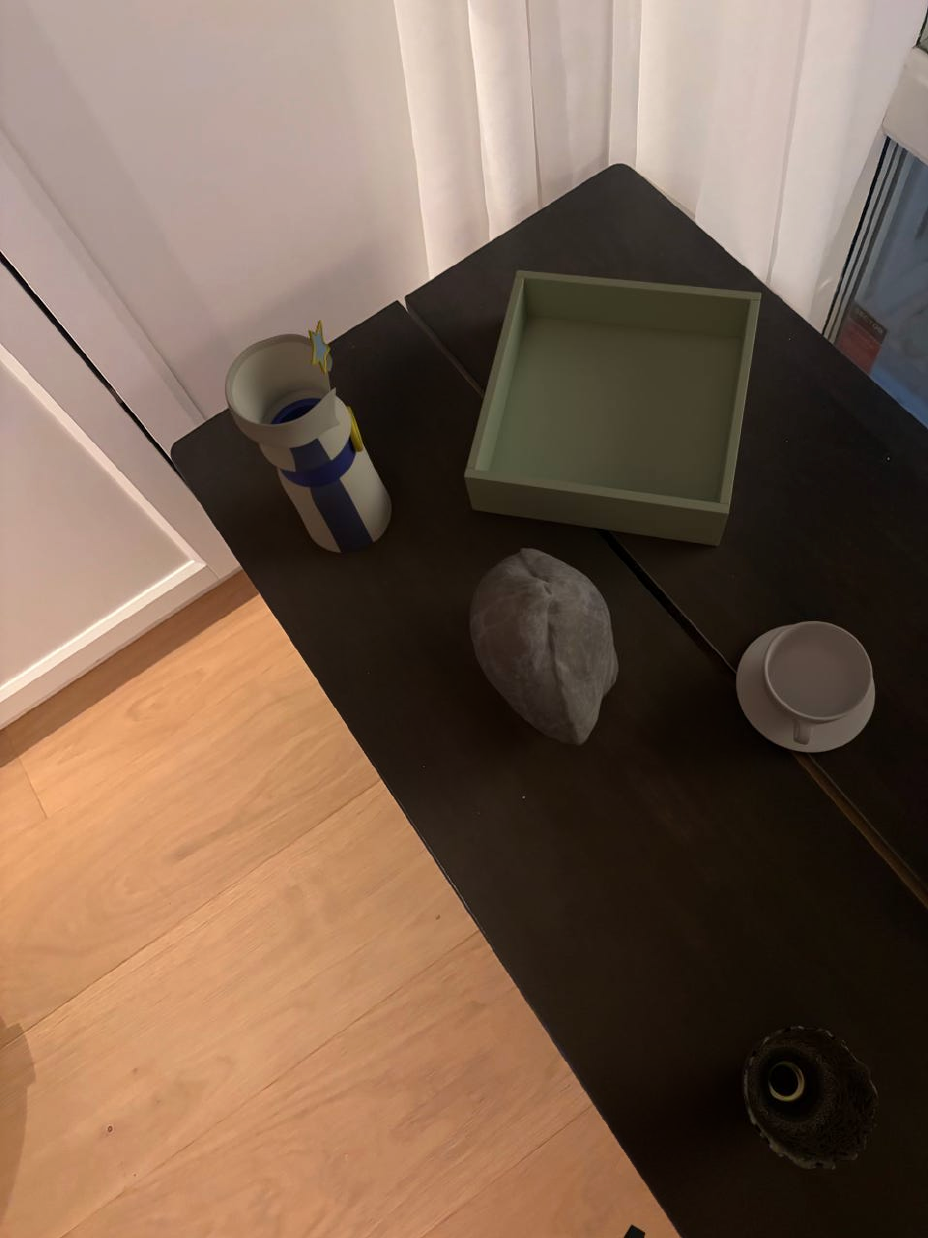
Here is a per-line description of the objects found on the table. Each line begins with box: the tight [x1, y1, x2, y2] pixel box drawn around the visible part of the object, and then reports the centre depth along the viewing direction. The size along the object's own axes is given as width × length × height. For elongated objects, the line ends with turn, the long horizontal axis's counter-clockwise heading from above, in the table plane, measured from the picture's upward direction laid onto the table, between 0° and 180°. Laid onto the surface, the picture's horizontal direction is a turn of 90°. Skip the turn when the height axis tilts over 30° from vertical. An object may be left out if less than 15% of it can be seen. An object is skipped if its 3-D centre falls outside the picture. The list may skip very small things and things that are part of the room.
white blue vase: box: [224, 319, 393, 554], centre depth 68 cm, size 8×9×25 cm
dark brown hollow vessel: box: [741, 1025, 879, 1171], centre depth 56 cm, size 8×7×8 cm
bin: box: [463, 269, 762, 547], centre depth 76 cm, size 21×21×6 cm
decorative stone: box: [468, 547, 619, 747], centre depth 65 cm, size 15×10×15 cm
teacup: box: [735, 620, 876, 753], centre depth 67 cm, size 10×10×5 cm
